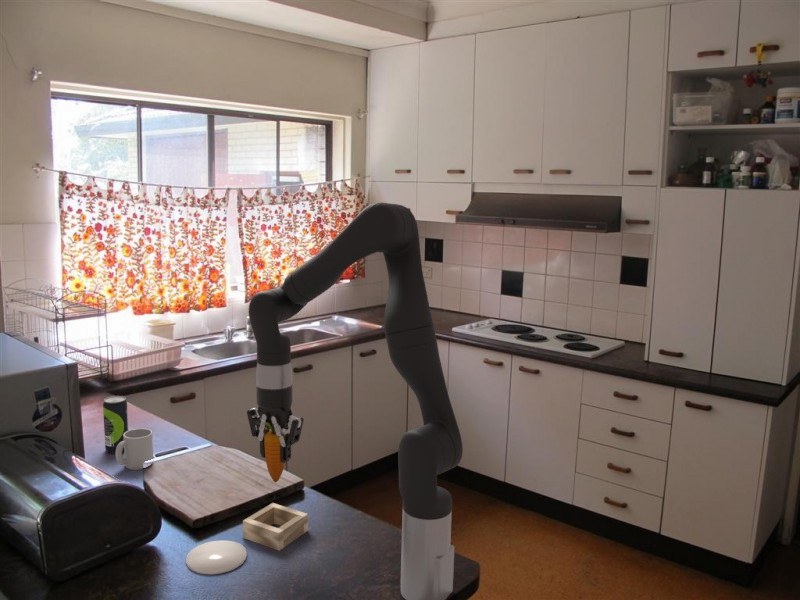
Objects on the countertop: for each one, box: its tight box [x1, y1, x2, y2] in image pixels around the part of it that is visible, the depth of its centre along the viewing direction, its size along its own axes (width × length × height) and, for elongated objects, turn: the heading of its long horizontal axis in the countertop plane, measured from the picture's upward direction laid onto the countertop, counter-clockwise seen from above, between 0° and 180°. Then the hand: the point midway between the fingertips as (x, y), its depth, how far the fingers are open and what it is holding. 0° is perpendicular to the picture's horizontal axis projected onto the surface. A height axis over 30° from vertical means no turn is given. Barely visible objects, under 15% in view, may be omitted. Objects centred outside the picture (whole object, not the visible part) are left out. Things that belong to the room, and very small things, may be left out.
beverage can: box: [102, 395, 129, 454], centre depth 197 cm, size 6×6×15 cm
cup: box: [114, 428, 154, 471], centre depth 187 cm, size 7×10×9 cm
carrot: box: [264, 422, 286, 483], centre depth 151 cm, size 5×5×15 cm
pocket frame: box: [242, 502, 309, 552], centre depth 154 cm, size 10×10×4 cm
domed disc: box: [185, 539, 248, 575], centre depth 144 cm, size 12×12×1 cm
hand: (275, 458), depth 151 cm, fingers closed on carrot, 4 cm apart
